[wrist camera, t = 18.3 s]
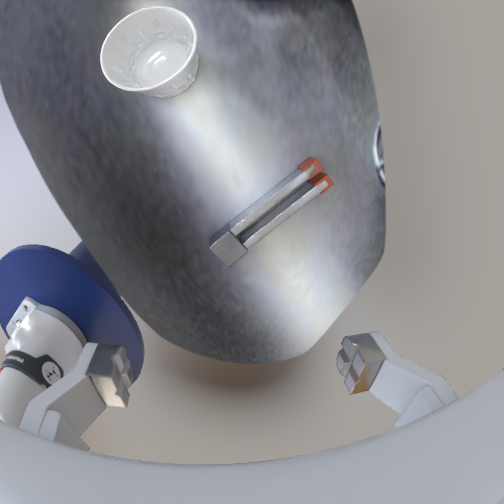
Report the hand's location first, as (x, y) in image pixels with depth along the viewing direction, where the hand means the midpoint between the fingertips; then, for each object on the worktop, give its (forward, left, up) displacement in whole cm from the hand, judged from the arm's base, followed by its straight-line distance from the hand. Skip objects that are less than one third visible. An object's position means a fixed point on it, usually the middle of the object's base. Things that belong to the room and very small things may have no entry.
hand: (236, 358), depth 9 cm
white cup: (+1, +16, -24) cm, 29 cm away
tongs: (+5, -4, -24) cm, 25 cm away
